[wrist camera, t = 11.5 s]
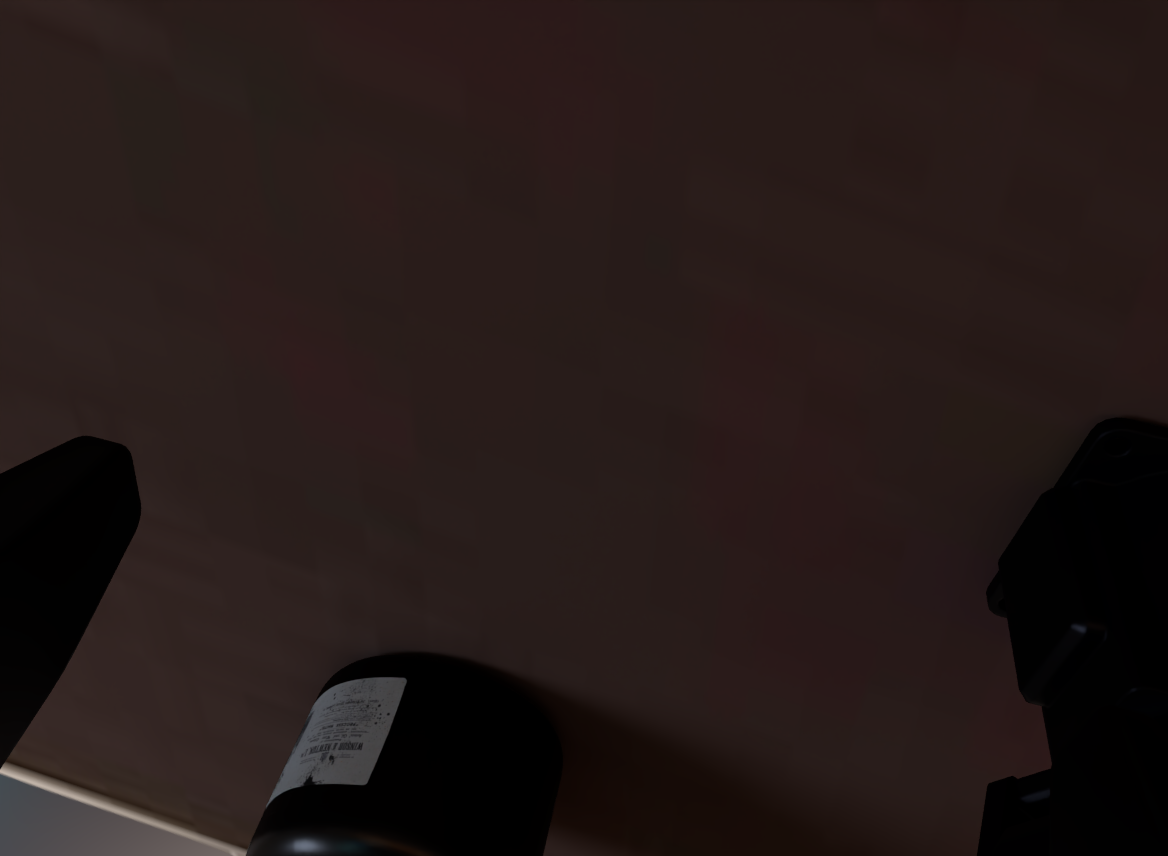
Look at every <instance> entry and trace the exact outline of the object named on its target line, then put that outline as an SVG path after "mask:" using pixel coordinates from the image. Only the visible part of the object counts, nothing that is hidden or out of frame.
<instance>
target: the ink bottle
mask: <svg viewBox="0 0 1168 856" xmlns="http://www.w3.org/2000/svg"><path fill="white" fill-rule="evenodd" d="M562 768H563V755H562V748H561V744H560V741H559V738H558V736H557V733H556V731H555V730H554V728H553V726H552V725H551V723H550V722H549V720H548V719H547V718H546V717H545V716H544V714H543V713H542V712H541V711H540V710H539V709H538V708H536V707H535V706H534V705H533V704H532V703H530V702H529V701H528V700H527V699H525V698H524V697H522V696H521V695H519V694H518V693H516V692H515V691H513V690H511V689H510V688H508V687H506V686H504V685H502V684H500V683H498V682H496V681H494V680H492V679H490V678H488V677H486V676H483V675H481V674H478V673H476V672H473V671H471V670H468V669H465V668H462V667H459V666H456V665H452V664H449V663H445V662H441V661H437V660H432V659H427V658H421V657H414V656H403V655H384V656H375V657H370V658H365V659H362V660H359V661H356V662H354V663H351V664H349V665H347V666H346V667H344V668H342V669H341V670H339V671H338V672H337V673H336V674H334V675H333V676H332V677H331V678H330V679H329V680H328V682H327V683H326V684H325V685H324V687H323V688H322V690H321V692H320V693H319V695H318V697H317V699H316V702H315V704H314V706H313V708H312V710H311V712H310V714H309V716H308V718H307V720H306V723H305V725H304V727H303V729H302V731H301V733H300V735H299V738H298V740H297V742H296V744H295V746H294V748H293V751H292V753H291V755H290V757H289V759H288V761H287V763H286V766H285V768H284V770H283V772H282V774H281V776H280V779H279V781H278V783H277V785H276V787H275V789H274V791H273V794H272V796H271V798H270V800H269V802H268V804H267V807H266V809H265V811H264V813H263V816H262V818H261V820H260V822H259V824H258V827H257V829H256V831H255V833H254V835H253V837H252V840H251V842H250V845H249V848H248V850H247V854H246V856H543V853H544V849H545V845H546V840H547V836H548V832H549V827H550V823H551V819H552V814H553V810H554V806H555V801H556V797H557V792H558V788H559V784H560V779H561V775H562Z"/></svg>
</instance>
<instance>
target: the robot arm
mask: <svg viewBox="0 0 1168 856" xmlns="http://www.w3.org/2000/svg"><path fill="white" fill-rule="evenodd" d="M1116 438H1124V440H1123V441H1122V442H1120V443H1117V444H1107V443H1108V442H1109V441H1110V440H1113V439H1116ZM140 516H141V502H140V497H139V491H138V486H137V481H136V476H135V470H134V465H133V460H132V456H131V453H130V451H129V450H128V449H127V448H126V446H124V445H122V444H119V443H115V442H111V441H108V440H104V439H100V438H96V437H92V436H81V437H77V438H74V439H71V440H69V441H67V442H65V443H63V444H61V445H59V446H57V447H55V448H53V449H51V450H49V451H47V452H45V453H42V454H40V455H38V456H36V457H34V458H32V459H30V460H28V461H26V462H24V463H22V464H20V465H18V466H15V467H13V468H11V469H9V470H7V471H5V472H3V473H1V474H0V769H1V767H2V766H3V764H4V763H5V761H6V759H7V758H8V756H9V755H10V753H11V752H12V750H13V749H14V747H15V746H16V744H17V743H18V741H19V740H20V738H21V737H22V735H23V734H24V732H25V731H26V729H27V728H28V726H29V724H30V723H31V721H32V720H33V718H34V717H35V715H36V714H37V712H38V711H39V709H40V708H41V706H42V705H43V703H44V702H45V700H46V699H47V697H48V696H49V694H50V692H51V691H52V689H53V688H54V686H55V684H56V683H57V681H58V680H59V678H60V676H61V675H62V673H63V672H64V670H65V668H66V666H67V664H68V663H69V661H70V659H71V657H72V655H73V653H74V652H75V650H76V648H77V646H78V644H79V642H80V640H81V638H82V636H83V634H84V632H85V630H86V628H87V626H88V624H89V622H90V620H91V618H92V616H93V614H94V612H95V611H96V609H97V607H98V605H99V603H100V601H101V599H102V597H103V595H104V593H105V591H106V589H107V587H108V585H109V583H110V581H111V579H112V577H113V575H114V573H115V571H116V569H117V567H118V565H119V563H120V561H121V559H122V557H123V555H124V553H125V551H126V549H127V547H128V546H129V544H130V542H131V540H132V538H133V536H134V534H135V532H136V529H137V527H138V524H139V520H140ZM998 565H999V571H998V573H997V574H996V576H995V577H994V579H993V580H992V582H991V583H990V585H989V586H988V588H987V592H986V595H987V602H988V607H989V610H990V611H992V612H993V613H994V614H996V615H998V616H1001V617H1005V618H1007V619H1008V625H1009V631H1010V637H1011V643H1012V649H1013V655H1014V662H1015V668H1016V674H1017V680H1018V686H1019V690H1020V692H1021V694H1022V695H1023V697H1024V699H1025V700H1026V702H1028V703H1032V704H1036V705H1040V706H1042V712H1043V717H1044V722H1045V728H1046V733H1047V739H1048V744H1049V750H1050V755H1051V761H1052V766H1051V769H1048V770H1045V771H1041V772H1038V773H1035V774H1032V775H1029V776H1026V777H1022V778H1019V779H1017V778H1015V777H1014V776H1010V777H1007V778H1004V779H1001V780H998V781H995V782H992V783H989V784H988V786H987V792H986V799H985V805H984V812H983V819H982V826H981V832H980V839H979V846H978V852H977V856H1168V428H1164V427H1160V426H1156V425H1151V424H1147V423H1143V422H1139V421H1134V420H1130V419H1126V418H1112V419H1107V420H1104V421H1102V422H1100V423H1098V424H1097V425H1096V426H1095V427H1094V428H1093V429H1092V430H1091V431H1090V433H1089V435H1088V436H1087V438H1086V439H1085V441H1084V442H1083V444H1082V445H1081V447H1080V448H1079V450H1078V451H1077V453H1076V454H1075V456H1074V457H1073V459H1072V460H1071V462H1070V463H1069V465H1068V466H1067V468H1066V469H1065V471H1064V473H1063V474H1062V476H1061V477H1060V479H1059V480H1058V482H1057V483H1056V485H1055V486H1054V488H1051V489H1049V490H1048V491H1046V492H1045V493H1043V494H1042V495H1041V496H1040V497H1039V499H1038V500H1037V502H1036V503H1035V505H1034V507H1033V508H1032V510H1031V511H1030V513H1029V514H1028V516H1027V517H1026V519H1025V520H1024V522H1023V523H1022V525H1021V526H1020V528H1019V530H1018V531H1017V533H1016V534H1015V536H1014V537H1013V539H1012V540H1011V542H1010V543H1009V545H1008V546H1007V548H1006V550H1005V551H1004V553H1003V554H1002V556H1001V557H1000V559H999V562H998Z"/></svg>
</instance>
